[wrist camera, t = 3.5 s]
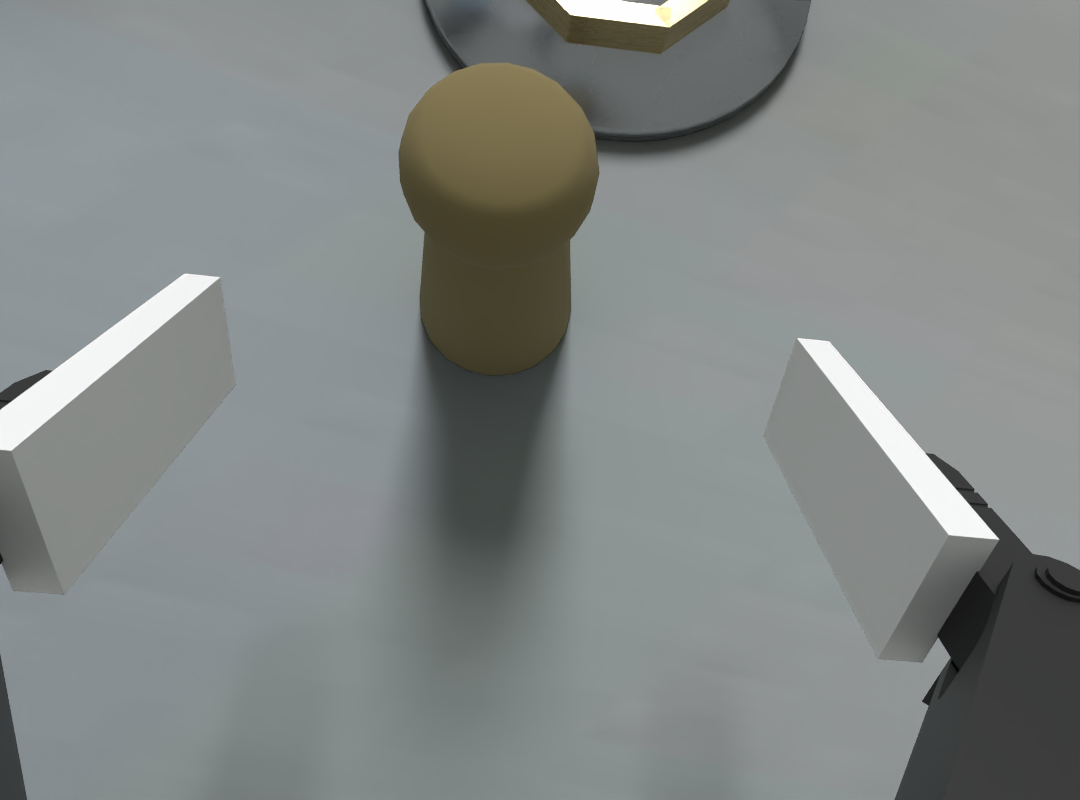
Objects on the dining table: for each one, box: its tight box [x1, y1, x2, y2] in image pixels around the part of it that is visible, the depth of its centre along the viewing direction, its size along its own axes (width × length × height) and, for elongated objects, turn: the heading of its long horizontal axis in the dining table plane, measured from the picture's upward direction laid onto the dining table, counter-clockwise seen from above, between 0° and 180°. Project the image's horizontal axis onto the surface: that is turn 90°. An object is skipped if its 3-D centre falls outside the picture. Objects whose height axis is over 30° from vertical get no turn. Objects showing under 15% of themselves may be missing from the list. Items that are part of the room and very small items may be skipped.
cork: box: [399, 63, 599, 376], centre depth 21 cm, size 6×6×11 cm
